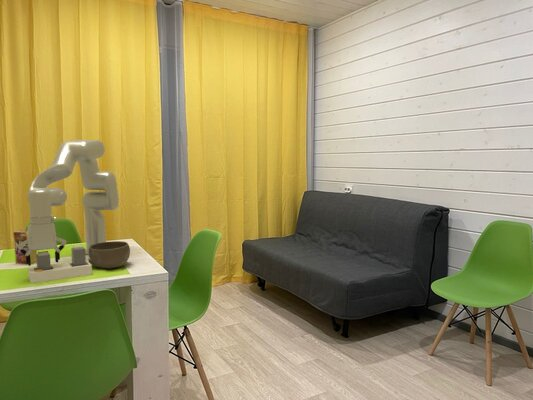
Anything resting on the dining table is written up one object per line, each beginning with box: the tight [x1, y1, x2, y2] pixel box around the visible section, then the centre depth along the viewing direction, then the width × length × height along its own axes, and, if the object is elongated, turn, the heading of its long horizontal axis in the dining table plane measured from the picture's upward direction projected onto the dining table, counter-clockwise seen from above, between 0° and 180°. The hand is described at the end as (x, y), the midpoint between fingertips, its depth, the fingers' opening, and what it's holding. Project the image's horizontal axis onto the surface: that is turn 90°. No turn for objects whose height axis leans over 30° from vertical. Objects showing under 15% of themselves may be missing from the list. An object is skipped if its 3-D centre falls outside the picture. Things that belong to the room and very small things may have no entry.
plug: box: [36, 250, 52, 271], centre depth 163 cm, size 4×4×10 cm
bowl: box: [87, 240, 131, 270], centre depth 184 cm, size 17×18×10 cm
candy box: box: [12, 230, 38, 265], centre depth 187 cm, size 9×4×15 cm, turn 72°
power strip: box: [27, 244, 93, 284], centre depth 166 cm, size 22×10×12 cm, turn 124°
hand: (43, 263), depth 163 cm, fingers open, 9 cm apart
